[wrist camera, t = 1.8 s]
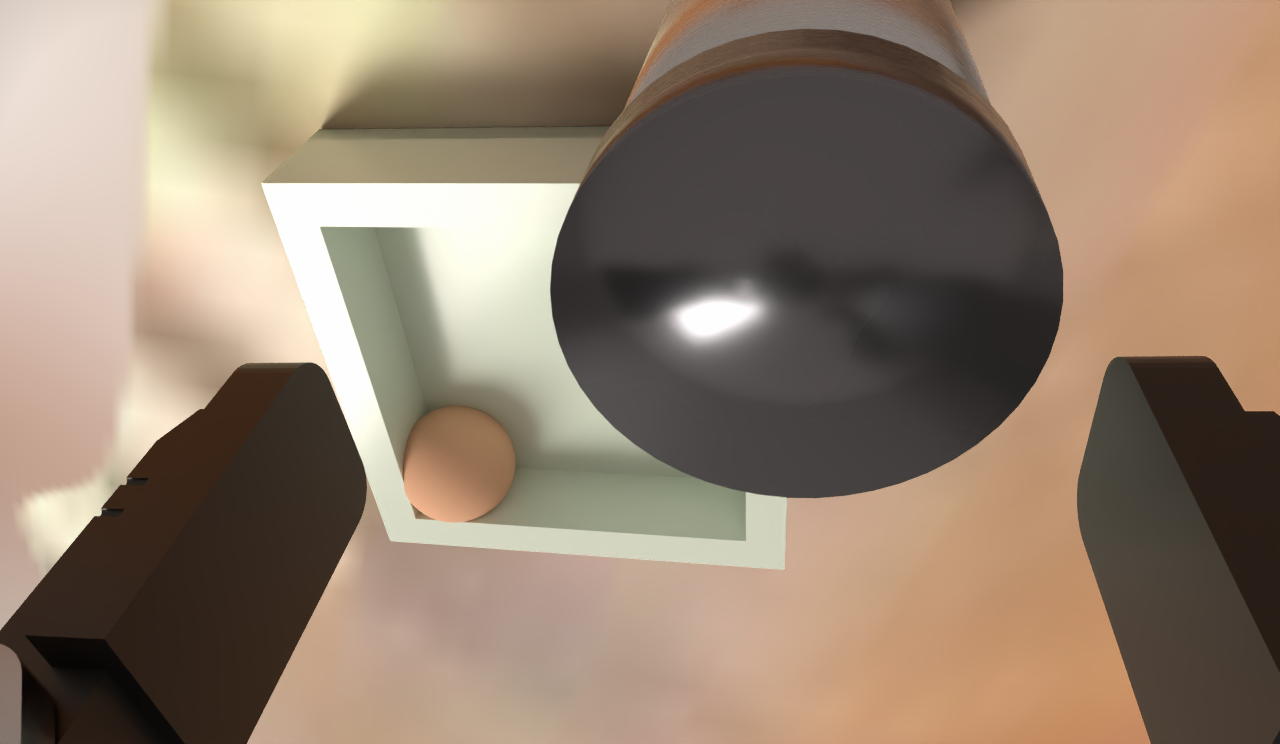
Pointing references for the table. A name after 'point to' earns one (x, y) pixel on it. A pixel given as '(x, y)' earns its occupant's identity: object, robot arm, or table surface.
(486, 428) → the ball
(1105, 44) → the table surface
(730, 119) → the cylinder
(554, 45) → the table surface
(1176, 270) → the table surface
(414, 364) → the tray
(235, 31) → the table surface
